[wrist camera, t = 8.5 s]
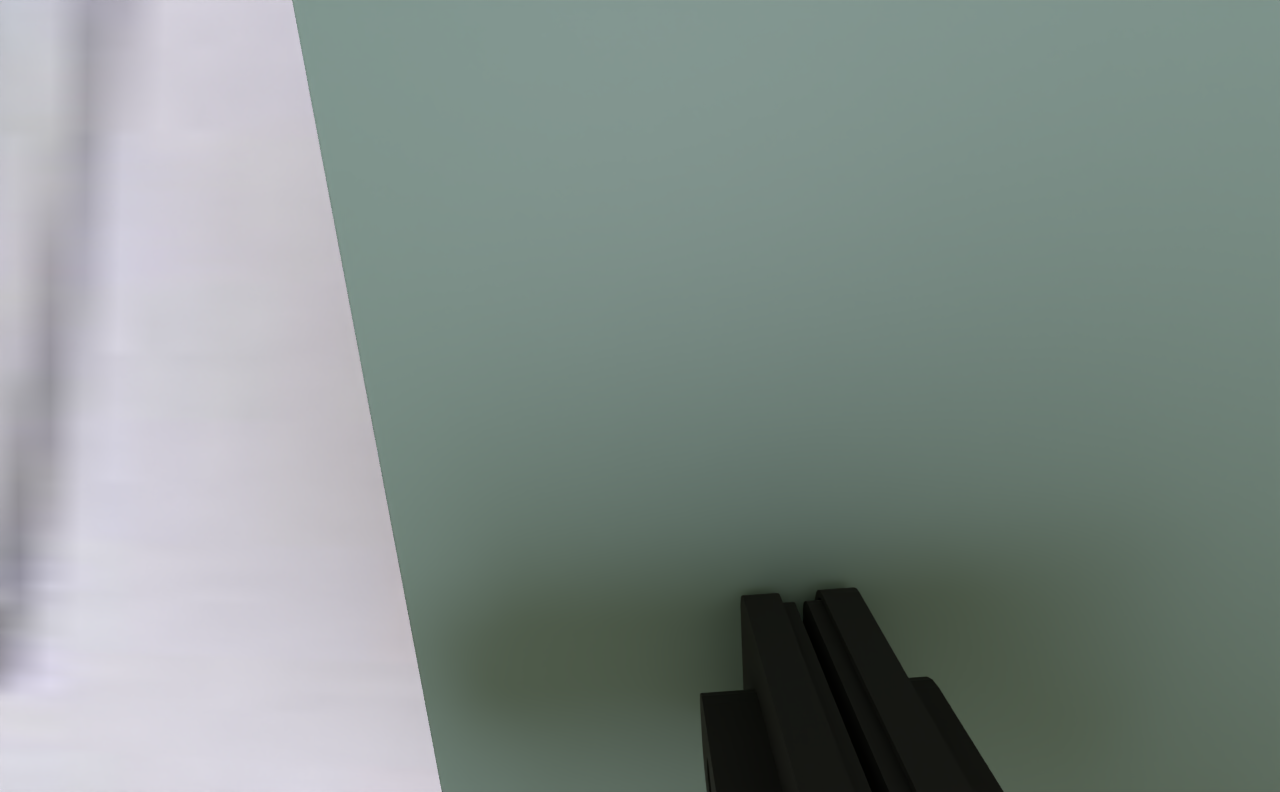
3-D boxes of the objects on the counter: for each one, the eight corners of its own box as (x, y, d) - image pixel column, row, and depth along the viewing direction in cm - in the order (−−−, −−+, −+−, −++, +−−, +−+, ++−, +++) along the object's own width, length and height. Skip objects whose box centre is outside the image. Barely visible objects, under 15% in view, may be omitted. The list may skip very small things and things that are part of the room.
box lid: (1314, 1028, 14) (1353, 1075, 14) (517, 1109, 14) (512, 1163, 13) (1629, -132, 9) (1727, -162, 8) (310, -41, 8) (281, -63, 8)
